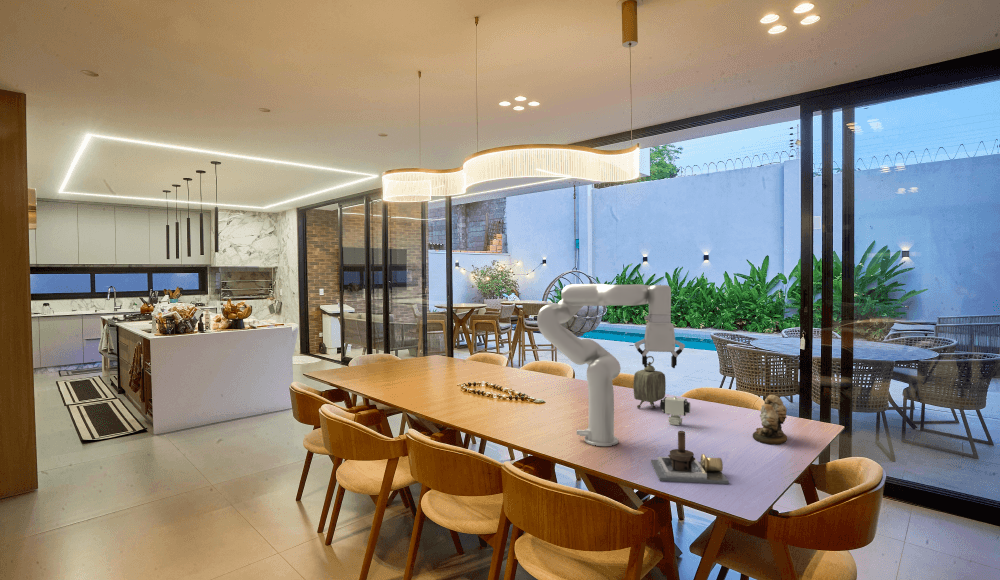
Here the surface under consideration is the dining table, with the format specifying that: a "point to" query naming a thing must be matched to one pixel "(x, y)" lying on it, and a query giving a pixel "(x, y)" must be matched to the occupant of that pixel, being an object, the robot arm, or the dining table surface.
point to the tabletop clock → (649, 385)
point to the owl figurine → (772, 422)
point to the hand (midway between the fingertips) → (659, 367)
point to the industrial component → (681, 455)
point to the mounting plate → (691, 471)
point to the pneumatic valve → (675, 408)
